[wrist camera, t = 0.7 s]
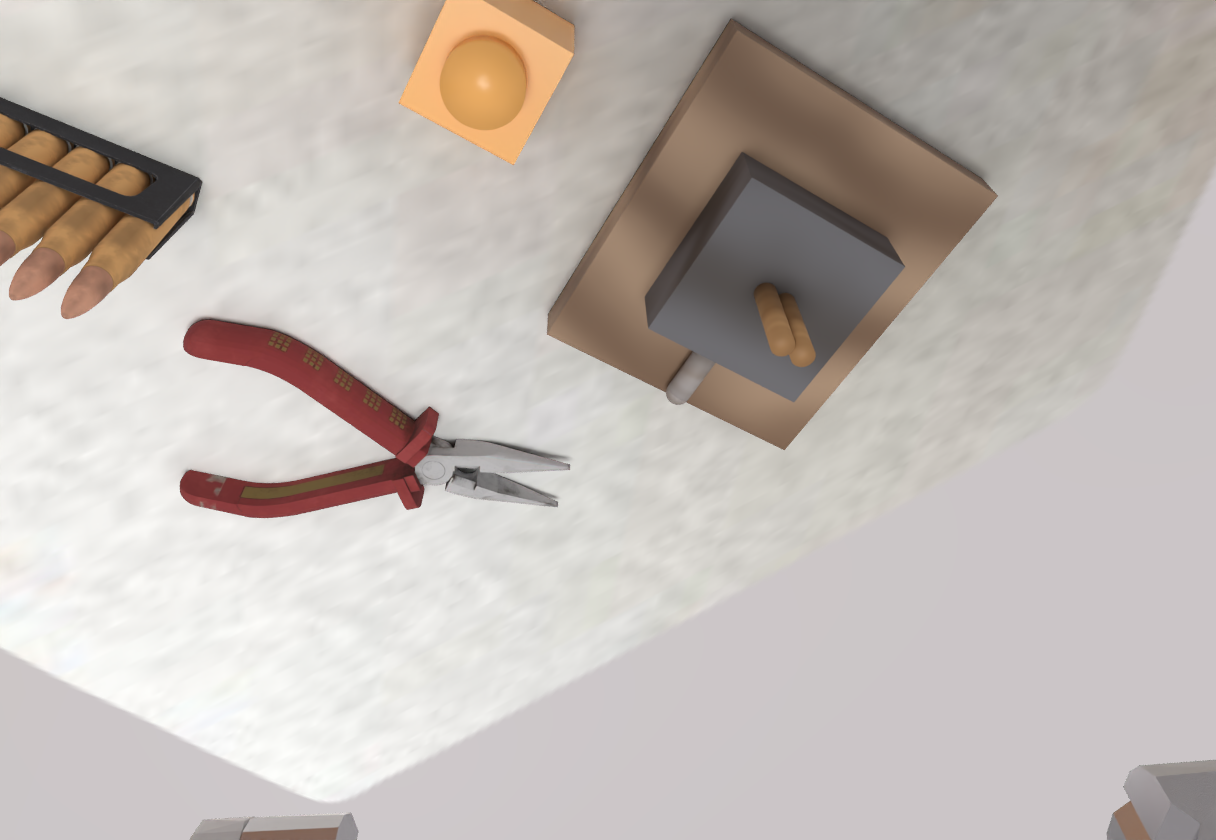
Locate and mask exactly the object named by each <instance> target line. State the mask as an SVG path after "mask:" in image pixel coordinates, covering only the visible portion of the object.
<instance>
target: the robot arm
mask: <svg viewBox="0 0 1216 840" xmlns="http://www.w3.org/2000/svg"><path fill="white" fill-rule="evenodd" d="M1123 787H1124V789H1125V791H1126V793H1127V794H1128V797H1129V799H1130V801H1129V802H1128V803H1126V804H1125V805H1124V806H1122V807H1121V808H1120V809H1118V810H1117V811H1115V812H1114V813H1113V815H1112V818H1111V821H1110V824H1109V828H1108V831H1107V840H1216V760H1207V761H1195V762H1181V763H1167V764H1154V765H1142V766H1138V767H1137V768H1135V769H1133V770H1131V771H1130V772H1129V774H1128V777H1127V779H1126V781H1125V784H1124V786H1123ZM357 835H358V829H357V827H356V824H355V821H354V819H353V816H352V814H351V813H332V814H312V815H292V816H271V817H239V818H224V819H207V820H202V822H201V823H200V825H199V826H198V828H197V829H196V831H195V832H194V833H193V835H192V836H191V838H190V840H357Z"/></svg>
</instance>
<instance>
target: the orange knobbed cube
mask: <svg viewBox="0 0 1216 840" xmlns="http://www.w3.org/2000/svg"><path fill="white" fill-rule="evenodd" d="M574 28H575V26H574V25H573V24H571V23H569V22H568V21H566V20H564V19H563V18H561V17H559V16H558V15H556V14H554V13H553V12H551V11H549V10H548V9H546V8H544V7H543V6H541V5H539V4H538V3H536V2H534V1H533V0H446V1H445V4H444V6H443V8H442V10H441V12H440V14H439V17H438V19H437V21H436V23H435V25H434V27H433V30H432V32H431V34H430V36H429V38H428V40H427V43H426V45H425V47H424V49H423V51H422V53H421V55H420V58H419V60H418V62H417V64H416V66H415V68H414V71H413V73H412V75H411V77H410V79H409V81H408V84H407V86H406V88H405V90H404V92H403V94H402V97H401V99H400V101H399V104H401V105H403V106H405V107H407V108H409V109H410V110H412V111H414V112H416V113H418V114H420V115H422V116H423V117H425V118H427V119H429V120H431V121H433V122H435V123H436V124H438V125H440V126H442V127H444V128H446V129H447V130H449V131H451V132H453V133H455V134H457V135H459V136H460V137H462V138H464V139H466V140H468V141H470V142H472V143H473V144H475V145H477V146H479V147H481V148H483V149H484V150H486V151H488V152H490V153H492V154H494V155H496V156H497V157H499V158H501V159H503V160H505V161H507V162H509V163H510V164H512V165H514V163H515V162H516V160H517V158H518V156H519V154H520V152H521V151H522V149H523V147H524V145H525V143H526V141H527V140H528V138H529V136H530V134H531V132H532V130H533V129H534V127H535V125H536V123H537V121H538V119H539V118H540V116H541V114H542V112H543V110H544V108H545V107H546V105H547V103H548V101H549V99H550V97H551V96H552V94H553V92H554V90H555V88H556V86H557V85H558V83H559V81H560V79H561V77H562V75H563V74H564V72H565V70H566V68H567V66H568V64H569V63H570V61H571V59H572V57H573V55H574Z"/></svg>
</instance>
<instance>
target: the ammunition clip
mask: <svg viewBox="0 0 1216 840" xmlns="http://www.w3.org/2000/svg"><path fill="white" fill-rule="evenodd" d="M201 184H202V182H201V181H200V179H199V178H198V177H195V176H193V175H190V174H188V173H185V172H183V171H181V170H178V169H176V168H173V167H171V166H168V165H166V164H163V163H161V162H158V161H156V160H153V159H151V158H148V157H146V156H144V155H141V154H139V153H136V152H134V151H131V150H129V149H126V148H124V147H121V146H119V145H116V144H114V143H112V142H109V141H107V140H104V139H102V138H99V137H97V136H94V135H92V134H89V133H87V132H84V131H82V130H80V129H77V128H75V127H72V126H70V125H67V124H65V123H62V122H60V121H57V120H55V119H52V118H50V117H47V116H45V115H43V114H40V113H38V112H35V111H33V110H30V109H28V108H25V107H23V106H20V105H18V104H15V103H13V102H11V101H8V100H6V99H3V98H1V97H0V266H1V265H2V264H3V263H5V262H6V261H7V260H8V259H9V258H12V257H13V256H14V255H15V254H17V253H18V252H19V251H21V250H22V249H25V248H27V247H29V246H31V245H33V244H34V243H36V242H37V241H38V240H39V239H41V238H42V237H43V238H42V240H41V242H40V243H39V244H38V246H37V247H36V248H35V249H34V250H33V251H32V253H31V254H30V255H29V256H28V257H27V258H26V259H25V260H24V262H23V263H22V264H21V266H20V267H19V268H18V270H17V272H16V273H15V275H14V277H13V280H12V282H11V285H10V288H9V297H10V299H11V300H22V299H25V298H28V297H31V296H33V295H35V294H37V293H39V292H41V291H42V290H43V289H45V288H46V287H48V286H49V285H50V284H51V283H53V282H54V281H55V280H56V279H57V278H58V277H59V276H61V275H62V274H63V273H65V272H66V271H67V270H68V269H69V268H70V267H72V266H74V265H76V264H78V263H80V262H81V261H82V260H84V259H85V258H86V257H87V256H88V255H89V254H90V253H91V252H92V253H91V255H90V258H89V260H88V262H87V263H86V264H85V266H84V267H83V268H82V269H81V272H80V273H79V274H78V275H77V276H76V278H75V279H74V280H73V282H72V283H71V285H70V286H69V288H68V290H67V292H66V294H65V296H64V299H63V302H62V305H61V315H62V317H63V318H64V319H70V318H74V317H77V316H80V315H82V314H84V313H86V312H87V311H89V310H90V309H92V308H93V307H94V306H96V305H97V304H98V303H99V302H100V301H102V300H103V299H104V298H105V297H106V295H107V294H108V293H109V292H111V291H112V290H113V289H114V288H115V287H116V286H117V285H118V284H119V283H121V282H123V281H124V280H126V279H127V278H129V277H130V276H131V275H132V274H133V273H134V272H135V271H136V270H137V268H138V267H139V266H140V265H141V264H142V262H143V261H144V260H145V259H148V260H149V259H150V258H151V257H152V256H153V255H154V254H155V253H156V252H157V251H158V250H159V249H160V248H161V247H162V246H163V245H164V244H165V243H166V242H167V241H168V240H169V239H170V238H171V237H172V236H173V235H174V234H175V233H176V232H177V231H178V230H179V229H180V228H181V227H182V226H183V225H184V224H185V223H186V222H187V221H188V219H189V218H190V217H191V216H192V215H193V214H194V211H195V207H196V203H197V199H198V196H199V192H200V188H201Z"/></svg>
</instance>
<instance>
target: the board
mask: <svg viewBox="0 0 1216 840" xmlns="http://www.w3.org/2000/svg"><path fill="white" fill-rule="evenodd" d="M997 196H998V195H997V194H996V193H995V192H994V191H993V190H992V189H991V188H990V187H989V186H988V184H987V183H986V182H985V181H984V180H983V179H982V178H980V177H978V176H977V175H975V174H974V173H972V172H971V171H969V170H967V169H966V168H964V167H963V166H961V165H960V164H958V163H957V162H955V161H953V160H952V159H950V158H949V157H947V156H946V155H944V154H942V153H941V152H939V151H938V150H936V149H935V148H933V147H931V146H930V145H928V144H927V143H925V142H924V141H922V140H920V139H919V138H917V137H916V136H914V135H913V134H911V133H910V132H908V131H906V130H905V129H903V128H902V127H900V126H899V125H897V124H895V123H894V122H892V121H891V120H889V119H888V118H886V117H884V116H883V115H881V114H880V113H878V112H877V111H875V110H873V109H872V108H870V107H869V106H867V105H866V104H864V103H863V102H861V101H859V100H858V99H856V98H855V97H853V96H852V95H850V94H848V93H847V92H845V91H844V90H842V89H841V88H839V87H837V86H836V85H834V84H833V83H831V82H830V81H828V80H826V79H825V78H823V77H822V76H820V75H819V74H817V73H816V72H814V71H812V70H811V69H809V68H808V67H806V66H805V65H803V64H801V63H800V62H798V61H797V60H795V59H794V58H792V57H790V56H789V55H787V54H786V53H784V52H783V51H781V50H779V49H778V48H776V47H775V46H773V45H772V44H770V43H769V42H767V41H765V40H764V39H762V38H761V37H759V36H758V35H756V34H754V33H753V32H751V31H750V30H748V29H747V28H745V27H743V26H742V25H740V24H739V23H737V22H736V21H734V20H732V19H731V20H730V21H729V23H728V24H727V26H726V28H725V29H724V31H723V32H722V34H721V36H720V37H719V39H718V41H717V42H716V44H715V45H714V47H713V49H712V50H711V52H710V53H709V55H708V57H707V58H706V60H705V62H704V63H703V65H702V66H701V68H700V70H699V71H698V73H697V74H696V76H695V78H694V79H693V81H692V83H691V84H690V86H689V87H688V89H687V91H686V92H685V94H684V95H683V97H682V99H681V100H680V102H679V104H678V105H677V107H676V108H675V110H674V112H673V113H672V115H671V116H670V118H669V120H668V121H667V123H666V125H665V126H664V128H663V129H662V131H661V133H660V134H659V136H658V137H657V139H656V141H655V142H654V144H653V146H652V147H651V149H650V150H649V152H648V154H647V155H646V157H645V158H644V160H643V162H642V163H641V165H640V167H639V168H638V170H637V171H636V173H635V175H634V176H633V178H632V179H631V181H630V183H629V184H628V186H627V188H626V189H625V191H624V192H623V194H622V196H621V197H620V199H619V200H618V202H617V204H616V205H615V207H614V209H613V210H612V212H611V213H610V215H609V217H608V218H607V220H606V221H605V223H604V225H603V226H602V228H601V230H600V231H599V233H598V234H597V236H596V238H595V239H594V241H593V243H592V244H591V246H590V247H589V249H588V251H587V252H586V254H585V255H584V257H583V259H582V260H581V262H580V264H579V265H578V267H577V268H576V270H575V272H574V273H573V275H572V276H571V278H570V280H569V281H568V283H567V285H566V286H565V288H564V289H563V291H562V293H561V294H560V296H559V297H558V299H557V301H556V302H555V304H554V306H553V307H552V309H551V310H550V312H549V314H548V326H547V335H549V336H552V337H554V338H556V339H558V340H560V341H562V342H564V343H566V344H568V345H570V346H572V347H574V348H576V349H578V350H580V351H582V352H584V353H586V354H588V355H590V356H593V357H595V358H597V359H599V360H601V361H603V362H605V363H607V364H609V365H611V366H613V367H615V368H617V369H619V370H621V371H623V372H625V373H627V374H629V375H631V376H634V377H636V378H638V379H640V380H642V381H644V382H646V383H648V384H650V385H652V386H654V387H656V388H658V389H660V390H662V391H664V392H666V395H667V398H668V400H669V401H670V402H671V403H673V404H676V405H680V404H683V403H685V402H687V403H689V404H691V405H693V406H695V407H697V408H699V409H701V410H703V411H705V412H707V413H709V414H711V415H714V416H716V417H718V418H720V419H722V420H724V421H726V422H728V423H730V424H732V425H734V426H736V427H738V428H740V429H742V430H744V431H746V432H748V433H750V434H752V435H755V436H757V437H759V438H761V439H763V440H765V441H767V442H769V443H771V444H773V445H775V446H777V447H779V448H781V449H783V450H785V449H786V448H787V446H788V445H789V444H790V443H791V442H792V441H793V439H794V438H795V437H796V436H797V435H798V433H799V432H800V431H801V430H802V429H803V427H804V426H805V425H806V424H807V423H808V421H809V420H810V419H811V418H812V417H813V416H814V414H815V413H816V412H817V411H818V410H819V408H820V407H821V406H822V405H823V404H824V402H825V401H826V400H827V399H828V398H829V396H830V395H831V394H832V393H833V392H834V391H835V389H836V388H837V387H838V386H839V385H840V383H841V382H842V381H843V380H844V379H845V377H846V376H847V375H848V374H849V373H850V371H851V370H852V369H853V368H854V367H855V366H856V364H857V363H858V362H859V361H860V360H861V358H862V357H863V356H864V355H865V354H866V352H867V351H868V350H869V349H870V348H871V346H872V345H873V344H874V343H875V342H876V341H877V339H878V338H879V337H880V336H881V335H882V333H883V332H884V331H885V330H886V329H887V327H888V326H889V325H890V324H891V323H892V321H893V320H894V319H895V318H896V317H897V316H898V314H899V313H900V312H901V311H902V310H903V308H904V307H905V306H906V305H907V304H908V302H909V301H910V300H911V299H912V298H913V296H914V295H915V294H916V293H917V292H918V291H919V289H920V288H921V287H922V286H923V285H924V283H925V282H926V281H927V280H928V279H929V277H930V276H931V275H932V274H933V273H934V271H935V270H936V269H937V268H938V267H939V266H940V264H941V263H942V262H943V261H944V260H945V258H946V257H947V256H948V255H949V254H950V252H951V251H952V250H953V249H954V248H955V246H956V245H957V244H958V243H959V242H960V241H961V239H962V238H963V237H964V236H965V235H966V233H967V232H968V231H969V230H970V229H971V227H972V226H973V225H974V224H975V223H976V221H977V220H978V219H979V218H980V217H981V216H982V214H983V213H984V212H985V211H986V210H987V208H988V207H989V206H990V205H991V204H992V202H993V201H994V200H995V199H996V198H997Z"/></svg>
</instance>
